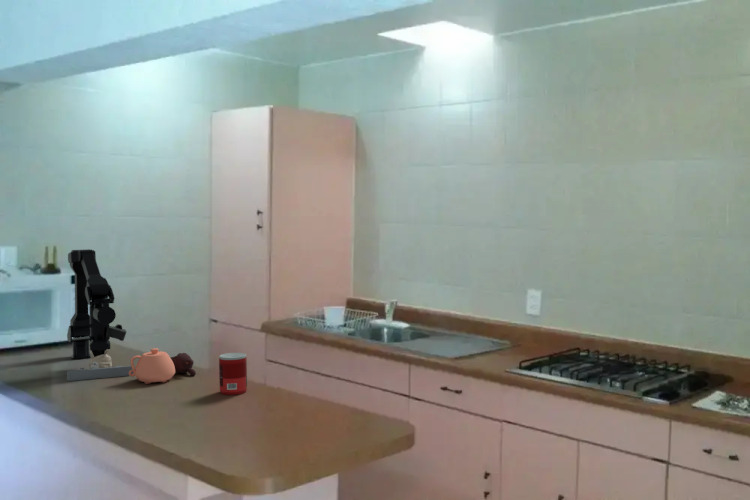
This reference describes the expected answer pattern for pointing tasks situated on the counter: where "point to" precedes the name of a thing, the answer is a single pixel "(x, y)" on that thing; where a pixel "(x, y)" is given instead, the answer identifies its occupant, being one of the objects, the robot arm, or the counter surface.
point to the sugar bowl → (153, 367)
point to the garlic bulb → (101, 361)
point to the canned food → (233, 373)
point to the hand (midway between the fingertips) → (100, 366)
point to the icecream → (183, 364)
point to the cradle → (98, 373)
